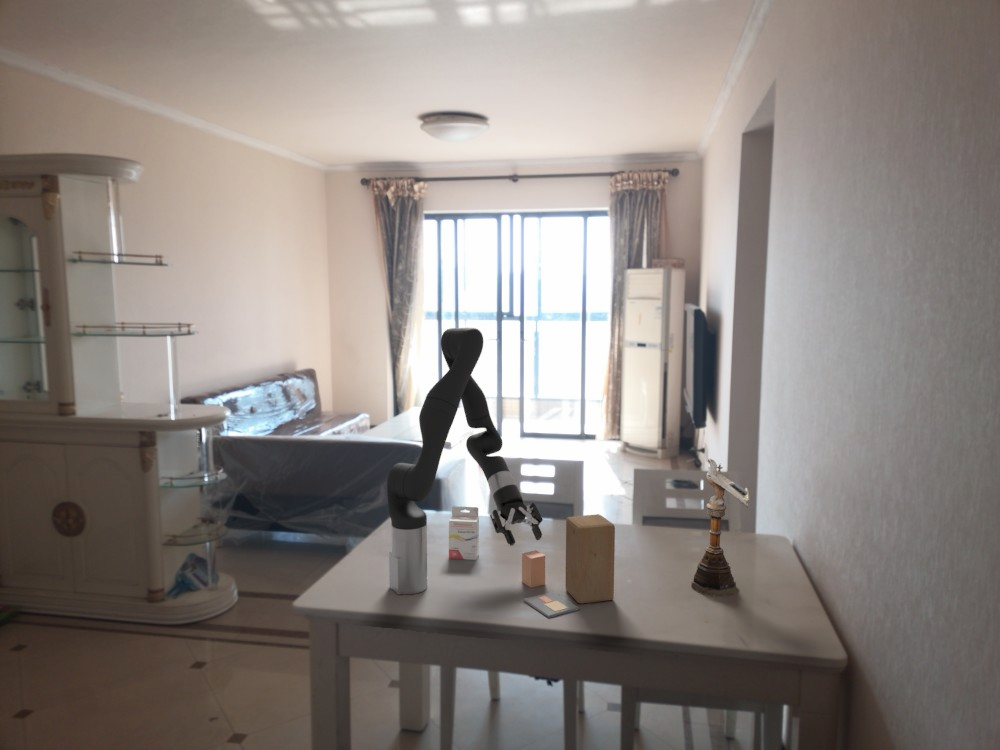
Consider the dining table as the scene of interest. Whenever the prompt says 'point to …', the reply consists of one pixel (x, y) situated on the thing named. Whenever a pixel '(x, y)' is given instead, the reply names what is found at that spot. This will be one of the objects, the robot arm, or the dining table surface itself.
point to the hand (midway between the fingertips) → (526, 541)
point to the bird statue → (717, 538)
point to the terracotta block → (533, 568)
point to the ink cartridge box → (464, 533)
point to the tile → (551, 604)
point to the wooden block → (590, 558)
